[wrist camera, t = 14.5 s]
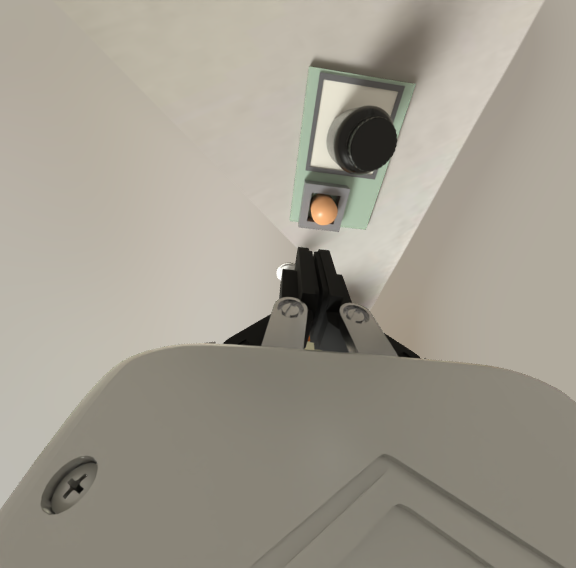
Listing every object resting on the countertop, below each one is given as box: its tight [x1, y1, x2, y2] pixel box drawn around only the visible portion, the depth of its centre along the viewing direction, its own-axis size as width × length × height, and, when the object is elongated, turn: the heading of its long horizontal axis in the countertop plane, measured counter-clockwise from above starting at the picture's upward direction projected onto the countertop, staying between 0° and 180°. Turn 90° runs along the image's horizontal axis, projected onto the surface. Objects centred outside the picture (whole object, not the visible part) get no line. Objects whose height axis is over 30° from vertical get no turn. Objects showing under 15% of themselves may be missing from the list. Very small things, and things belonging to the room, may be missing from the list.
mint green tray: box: [290, 66, 416, 232], centre depth 33 cm, size 20×14×4 cm
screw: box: [277, 263, 295, 281], centre depth 41 cm, size 13×5×5 cm
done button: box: [310, 193, 338, 225], centre depth 36 cm, size 4×4×4 cm
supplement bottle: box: [326, 106, 397, 175], centre depth 27 cm, size 7×7×12 cm
